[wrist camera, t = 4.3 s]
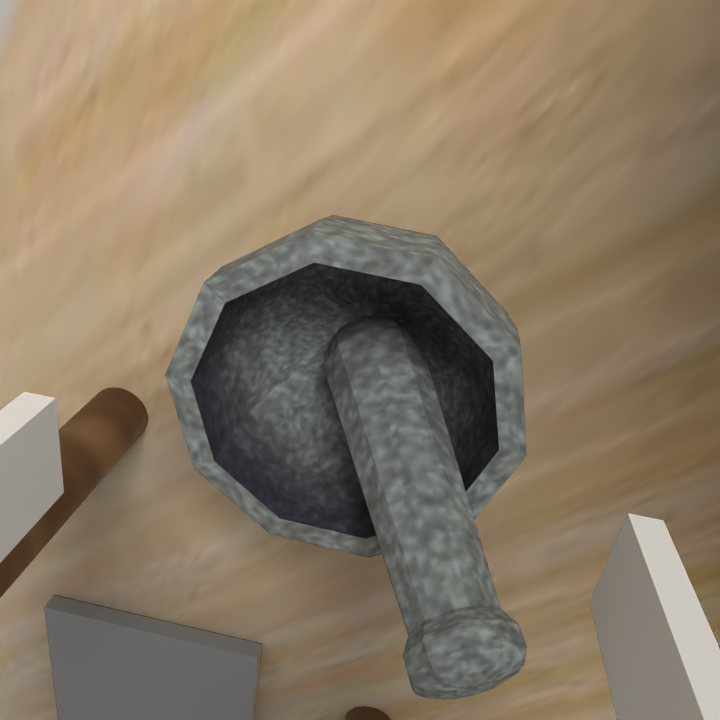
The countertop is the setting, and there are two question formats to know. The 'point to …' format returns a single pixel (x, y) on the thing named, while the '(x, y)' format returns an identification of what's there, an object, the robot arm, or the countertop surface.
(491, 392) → the mortar and pestle
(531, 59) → the countertop surface
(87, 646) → the slate pad
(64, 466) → the post
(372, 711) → the post
